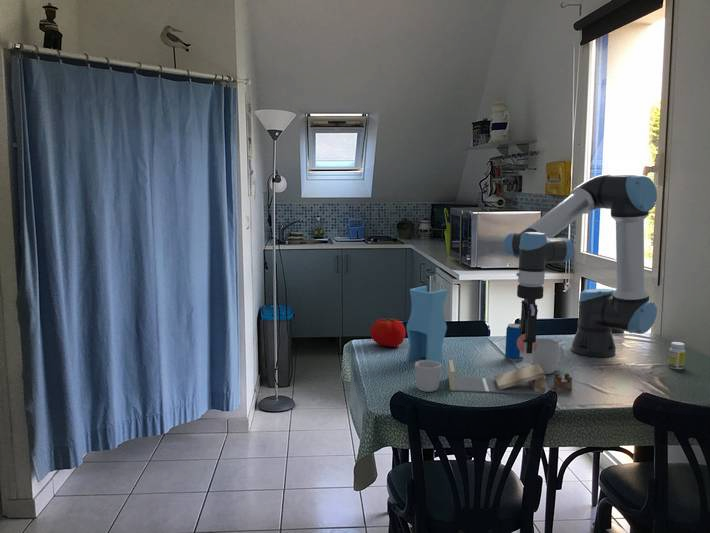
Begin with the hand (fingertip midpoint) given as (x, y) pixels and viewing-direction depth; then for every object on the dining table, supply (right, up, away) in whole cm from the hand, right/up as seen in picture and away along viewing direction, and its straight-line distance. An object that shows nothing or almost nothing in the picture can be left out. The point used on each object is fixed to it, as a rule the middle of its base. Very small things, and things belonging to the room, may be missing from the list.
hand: (526, 359), depth 193 cm
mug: (+12, -6, +18) cm, 23 cm away
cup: (-30, -9, +1) cm, 31 cm away
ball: (0, +2, 0) cm, 2 cm away
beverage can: (+4, -4, +31) cm, 32 cm away
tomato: (-39, -2, +46) cm, 61 cm away
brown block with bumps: (+11, -9, 0) cm, 14 cm away
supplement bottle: (+57, -6, +23) cm, 61 cm away
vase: (-27, -5, +28) cm, 39 cm away
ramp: (-2, -9, +2) cm, 9 cm away
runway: (-8, -8, +2) cm, 12 cm away
